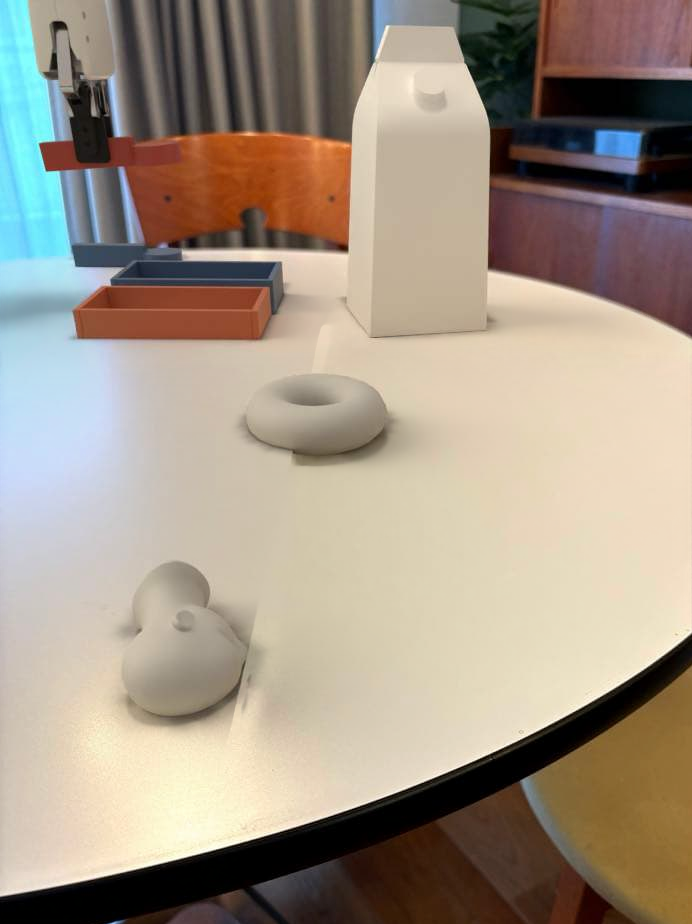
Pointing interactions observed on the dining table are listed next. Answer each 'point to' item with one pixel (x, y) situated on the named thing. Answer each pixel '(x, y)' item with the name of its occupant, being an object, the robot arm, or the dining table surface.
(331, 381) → the donut
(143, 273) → the tray blue
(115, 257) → the blue spoon
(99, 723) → the dining table surface
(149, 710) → the pale two-lobed sculpture
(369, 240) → the milk
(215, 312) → the tray red
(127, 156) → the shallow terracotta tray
